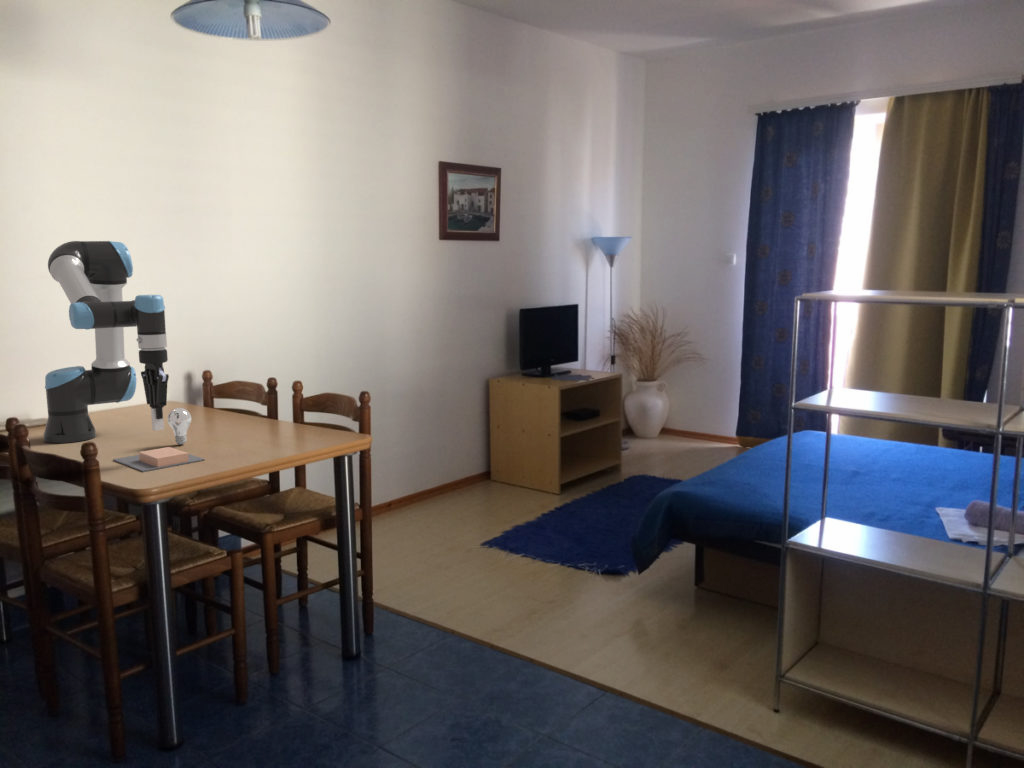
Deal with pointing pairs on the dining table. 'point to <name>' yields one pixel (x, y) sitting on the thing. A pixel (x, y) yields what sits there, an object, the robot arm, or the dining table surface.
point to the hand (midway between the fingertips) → (158, 429)
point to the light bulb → (179, 424)
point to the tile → (163, 456)
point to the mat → (142, 466)
